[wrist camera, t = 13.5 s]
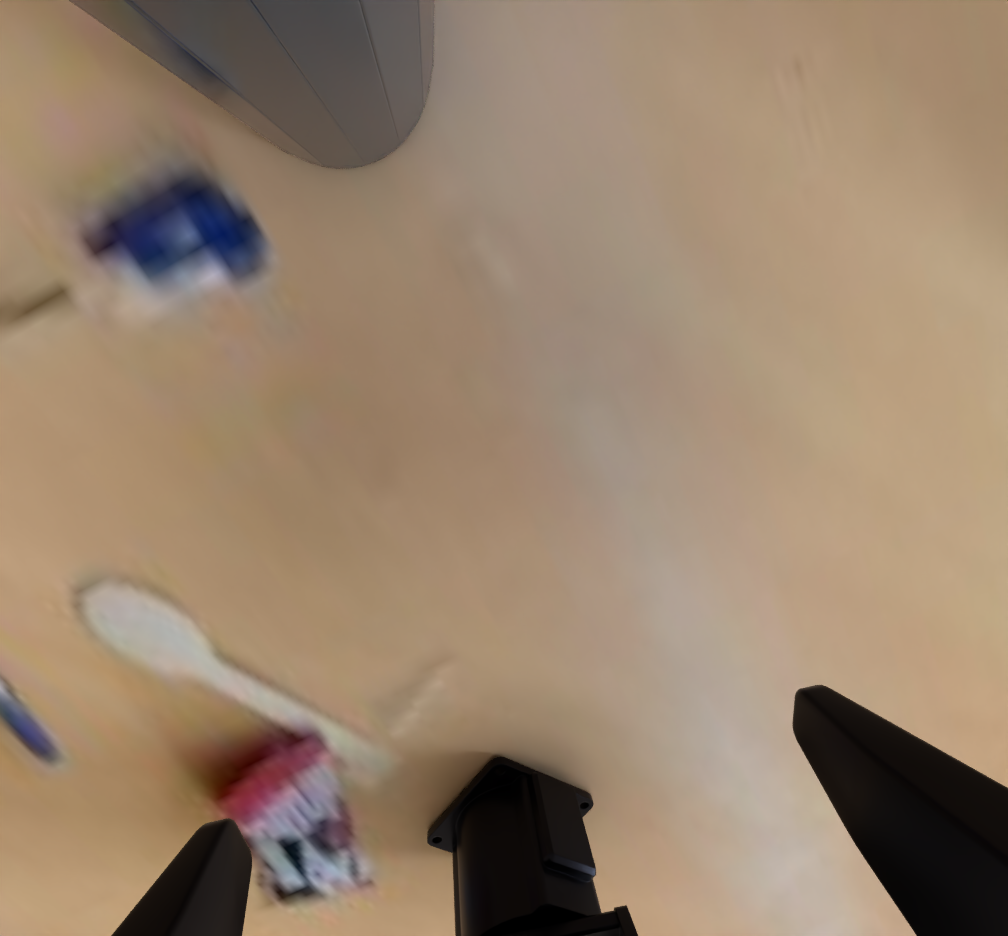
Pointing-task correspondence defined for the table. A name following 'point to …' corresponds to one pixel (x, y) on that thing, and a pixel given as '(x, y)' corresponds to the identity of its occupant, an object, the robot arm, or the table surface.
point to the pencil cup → (295, 66)
